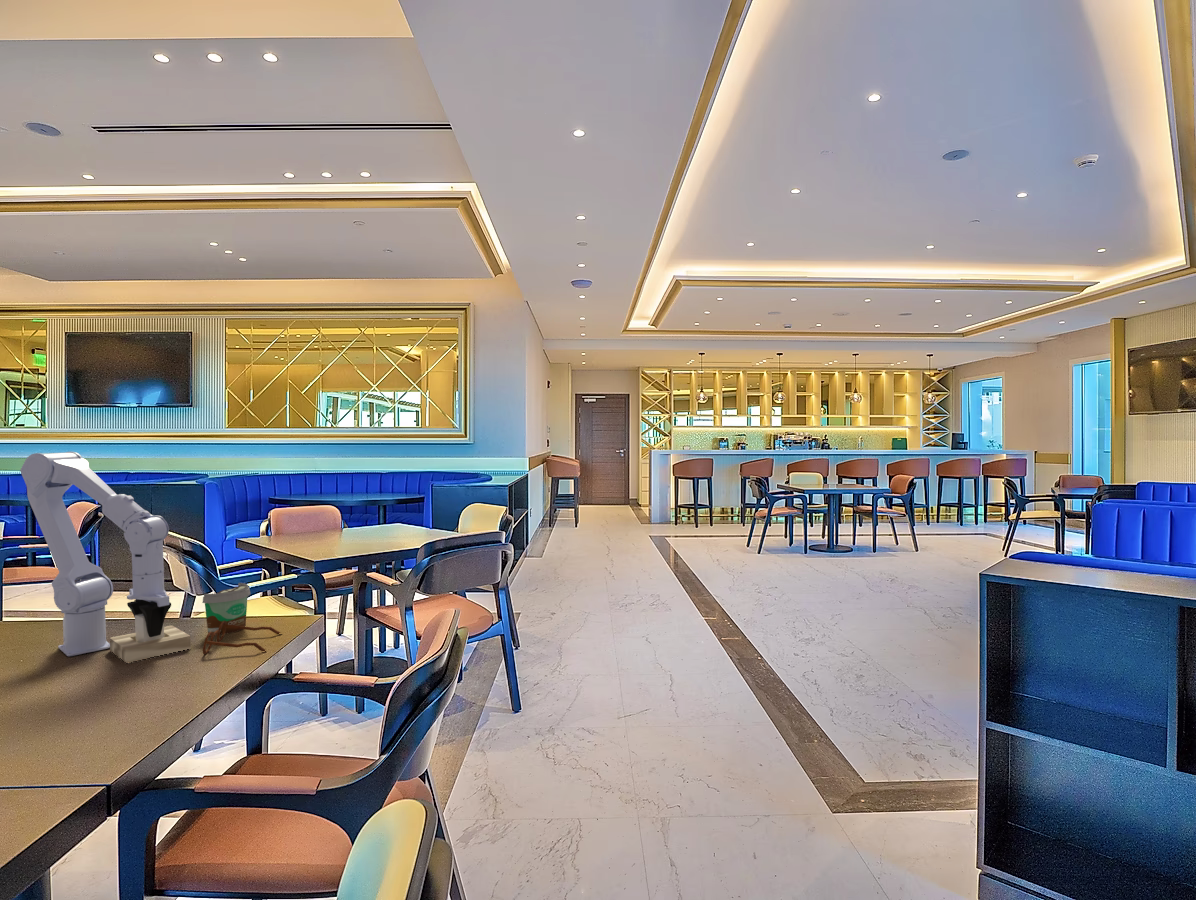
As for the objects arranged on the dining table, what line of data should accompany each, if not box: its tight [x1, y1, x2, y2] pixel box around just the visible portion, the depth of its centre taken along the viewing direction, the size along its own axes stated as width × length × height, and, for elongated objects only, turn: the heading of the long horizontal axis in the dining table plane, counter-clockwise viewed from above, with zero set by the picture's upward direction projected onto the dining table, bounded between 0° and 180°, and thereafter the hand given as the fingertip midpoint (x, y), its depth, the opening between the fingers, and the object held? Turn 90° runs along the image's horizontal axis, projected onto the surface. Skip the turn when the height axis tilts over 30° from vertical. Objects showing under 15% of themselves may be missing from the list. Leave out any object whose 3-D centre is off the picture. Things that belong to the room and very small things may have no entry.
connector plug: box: [134, 614, 165, 643], centre depth 148 cm, size 4×4×6 cm
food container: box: [201, 582, 252, 636], centre depth 163 cm, size 12×6×10 cm, turn 168°
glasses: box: [202, 621, 281, 655], centre depth 152 cm, size 13×13×5 cm
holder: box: [109, 625, 192, 664], centre depth 149 cm, size 12×12×3 cm
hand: (150, 634), depth 148 cm, fingers closed on connector plug, 4 cm apart
